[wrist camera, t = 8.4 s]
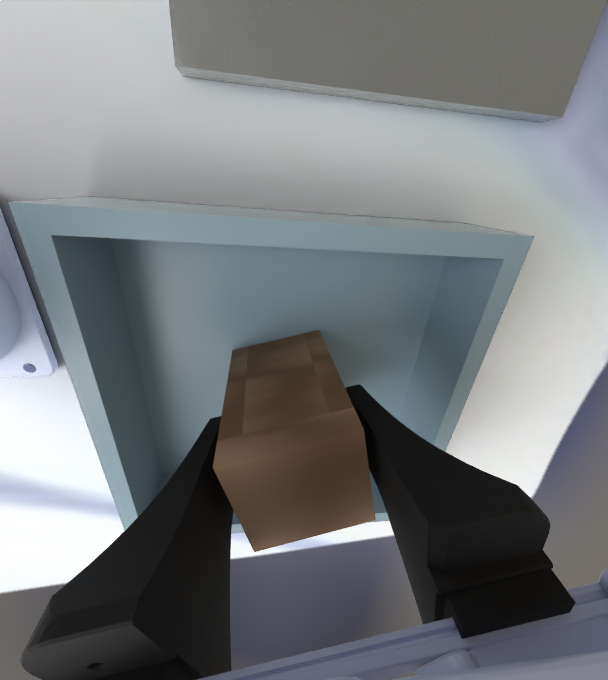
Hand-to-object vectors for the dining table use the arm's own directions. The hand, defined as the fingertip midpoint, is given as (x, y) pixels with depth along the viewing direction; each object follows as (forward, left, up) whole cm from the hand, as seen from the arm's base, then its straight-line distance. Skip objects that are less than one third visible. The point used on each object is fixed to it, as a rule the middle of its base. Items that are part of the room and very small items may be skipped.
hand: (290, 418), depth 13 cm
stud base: (+3, +19, -4) cm, 20 cm away
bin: (0, 0, -4) cm, 4 cm away
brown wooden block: (0, 0, -3) cm, 3 cm away
